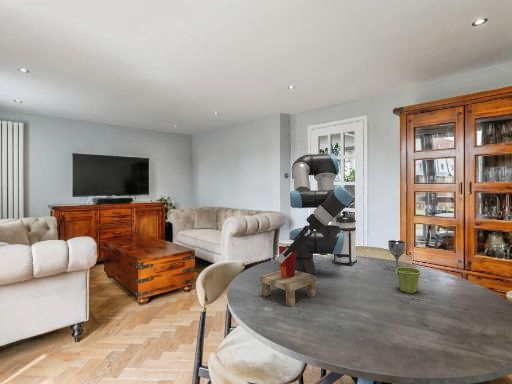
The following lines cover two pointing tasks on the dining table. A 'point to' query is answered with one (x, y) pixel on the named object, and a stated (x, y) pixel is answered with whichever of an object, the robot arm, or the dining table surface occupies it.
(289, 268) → the paper cup
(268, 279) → the wooden step stool
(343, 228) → the coffee press
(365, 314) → the dining table surface
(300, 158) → the robot arm
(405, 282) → the plant pot
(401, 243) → the wine glass
